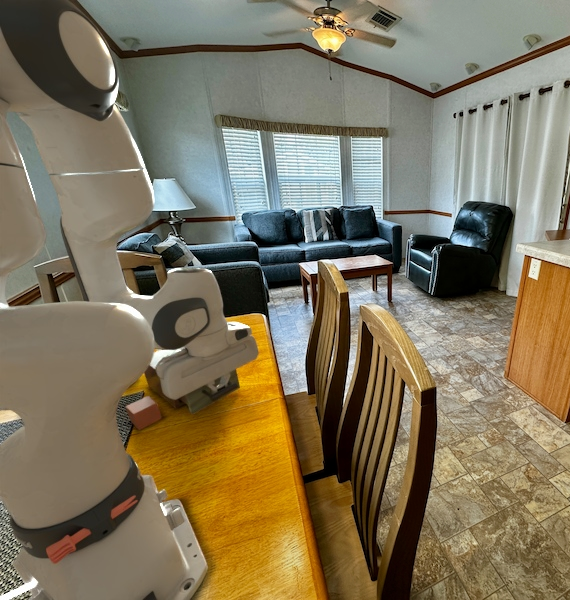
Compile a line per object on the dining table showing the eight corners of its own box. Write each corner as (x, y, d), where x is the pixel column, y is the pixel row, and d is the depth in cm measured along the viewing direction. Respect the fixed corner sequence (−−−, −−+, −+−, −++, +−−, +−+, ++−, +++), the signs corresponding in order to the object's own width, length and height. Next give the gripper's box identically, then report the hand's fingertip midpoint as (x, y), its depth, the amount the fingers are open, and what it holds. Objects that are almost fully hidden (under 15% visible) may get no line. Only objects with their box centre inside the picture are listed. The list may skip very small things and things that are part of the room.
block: (162, 418, 74) (156, 402, 73) (139, 430, 71) (133, 414, 69) (153, 411, 76) (148, 395, 75) (131, 422, 73) (125, 406, 71)
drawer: (251, 394, 80) (247, 371, 78) (204, 423, 71) (196, 397, 69) (211, 371, 90) (205, 349, 87) (164, 393, 81) (157, 370, 78)
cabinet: (228, 381, 87) (221, 352, 84) (176, 408, 77) (166, 377, 74) (199, 364, 95) (192, 337, 91) (149, 387, 85) (139, 358, 82)
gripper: (160, 366, 61) (179, 424, 66) (257, 325, 77) (266, 375, 82) (145, 356, 64) (164, 413, 69) (241, 319, 80) (251, 367, 85)
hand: (220, 392), depth 76 cm, fingers closed
